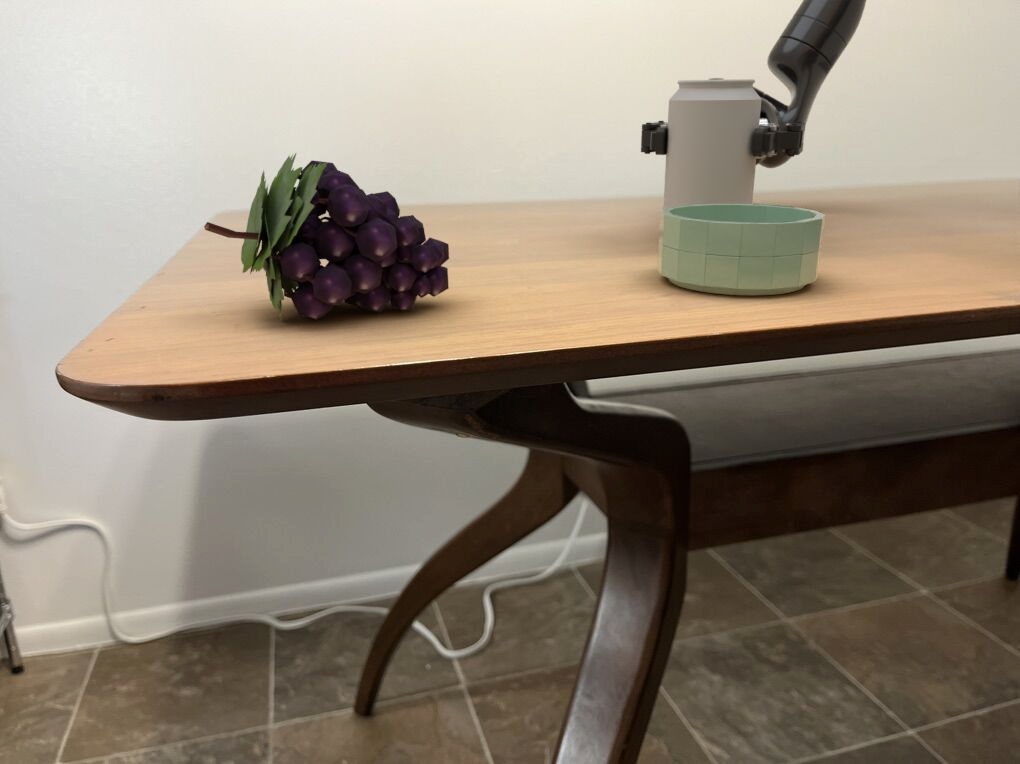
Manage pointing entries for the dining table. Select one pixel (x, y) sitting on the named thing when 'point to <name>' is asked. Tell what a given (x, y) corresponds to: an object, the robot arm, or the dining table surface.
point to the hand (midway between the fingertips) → (708, 142)
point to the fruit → (336, 244)
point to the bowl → (740, 247)
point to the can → (711, 142)
